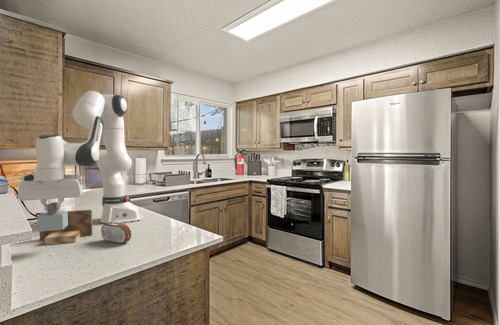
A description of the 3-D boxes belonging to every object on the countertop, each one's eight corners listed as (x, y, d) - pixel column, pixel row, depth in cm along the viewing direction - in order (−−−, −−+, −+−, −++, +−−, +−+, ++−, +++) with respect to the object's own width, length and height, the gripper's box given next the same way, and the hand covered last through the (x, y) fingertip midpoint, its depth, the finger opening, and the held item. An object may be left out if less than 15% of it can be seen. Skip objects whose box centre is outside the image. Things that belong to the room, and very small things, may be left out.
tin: (131, 243, 109) (131, 224, 109) (126, 245, 106) (126, 226, 106) (105, 239, 114) (105, 220, 114) (99, 241, 111) (99, 222, 111)
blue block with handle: (68, 225, 104) (67, 201, 103) (63, 229, 98) (62, 204, 98) (44, 227, 101) (43, 202, 101) (38, 231, 95) (36, 205, 95)
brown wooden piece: (92, 234, 120) (92, 209, 120) (87, 240, 111) (86, 214, 111) (41, 239, 113) (40, 212, 112) (31, 246, 104) (30, 217, 104)
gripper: (84, 173, 105) (85, 206, 106) (23, 175, 98) (25, 210, 99) (80, 175, 99) (81, 209, 100) (14, 177, 92) (16, 214, 93)
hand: (52, 209), depth 99 cm, fingers closed on blue block with handle
